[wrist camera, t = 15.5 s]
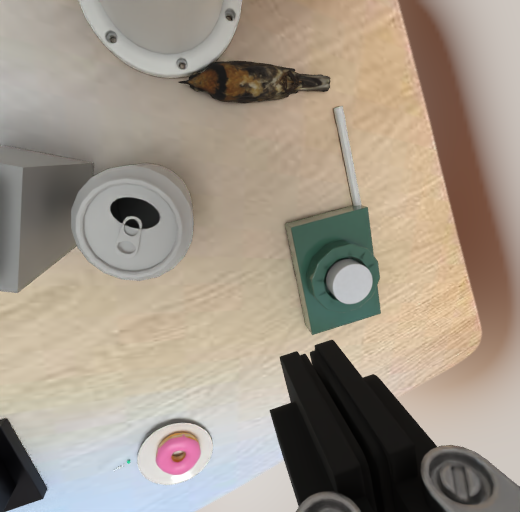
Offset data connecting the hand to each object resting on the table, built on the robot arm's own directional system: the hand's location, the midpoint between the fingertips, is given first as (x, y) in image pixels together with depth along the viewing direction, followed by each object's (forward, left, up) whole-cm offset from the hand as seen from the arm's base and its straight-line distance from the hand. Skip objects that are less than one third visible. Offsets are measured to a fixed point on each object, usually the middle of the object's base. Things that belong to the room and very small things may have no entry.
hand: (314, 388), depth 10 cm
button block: (+7, +10, -25) cm, 28 cm away
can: (-4, -6, -25) cm, 26 cm away
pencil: (-1, +13, -25) cm, 28 cm away
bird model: (-12, +6, -25) cm, 28 cm away
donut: (+24, -13, -25) cm, 37 cm away
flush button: (+7, +10, -21) cm, 24 cm away
